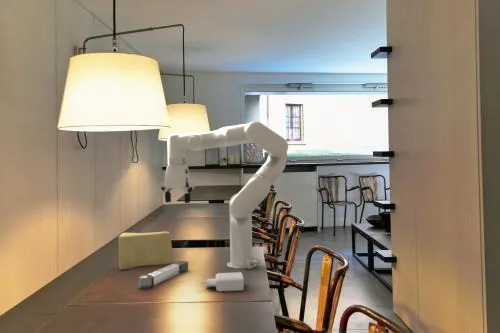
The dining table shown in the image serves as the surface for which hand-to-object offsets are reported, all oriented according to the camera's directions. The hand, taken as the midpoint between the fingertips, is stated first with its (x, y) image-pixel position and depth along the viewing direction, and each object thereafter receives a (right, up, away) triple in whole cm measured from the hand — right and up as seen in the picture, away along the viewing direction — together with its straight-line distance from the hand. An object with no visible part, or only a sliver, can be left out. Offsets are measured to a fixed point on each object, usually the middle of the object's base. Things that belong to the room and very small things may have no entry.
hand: (177, 202), depth 180 cm
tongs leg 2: (0, -28, -17) cm, 32 cm away
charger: (+21, -29, -28) cm, 45 cm away
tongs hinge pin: (-7, -28, -29) cm, 41 cm away
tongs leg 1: (-2, -28, -16) cm, 32 cm away
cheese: (-14, -29, +5) cm, 32 cm away
